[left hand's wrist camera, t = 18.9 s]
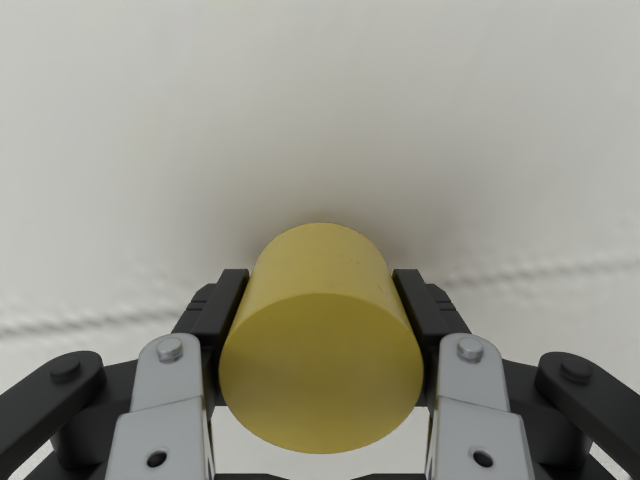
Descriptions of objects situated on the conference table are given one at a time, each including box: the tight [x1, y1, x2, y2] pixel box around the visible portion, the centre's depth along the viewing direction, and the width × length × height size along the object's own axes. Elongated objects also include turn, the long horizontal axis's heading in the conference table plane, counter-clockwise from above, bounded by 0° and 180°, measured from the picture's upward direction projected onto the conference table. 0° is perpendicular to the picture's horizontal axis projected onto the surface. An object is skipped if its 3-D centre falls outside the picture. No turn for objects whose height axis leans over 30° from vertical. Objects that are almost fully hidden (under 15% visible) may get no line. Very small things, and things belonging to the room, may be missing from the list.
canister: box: [218, 222, 424, 454], centre depth 11 cm, size 5×5×4 cm
